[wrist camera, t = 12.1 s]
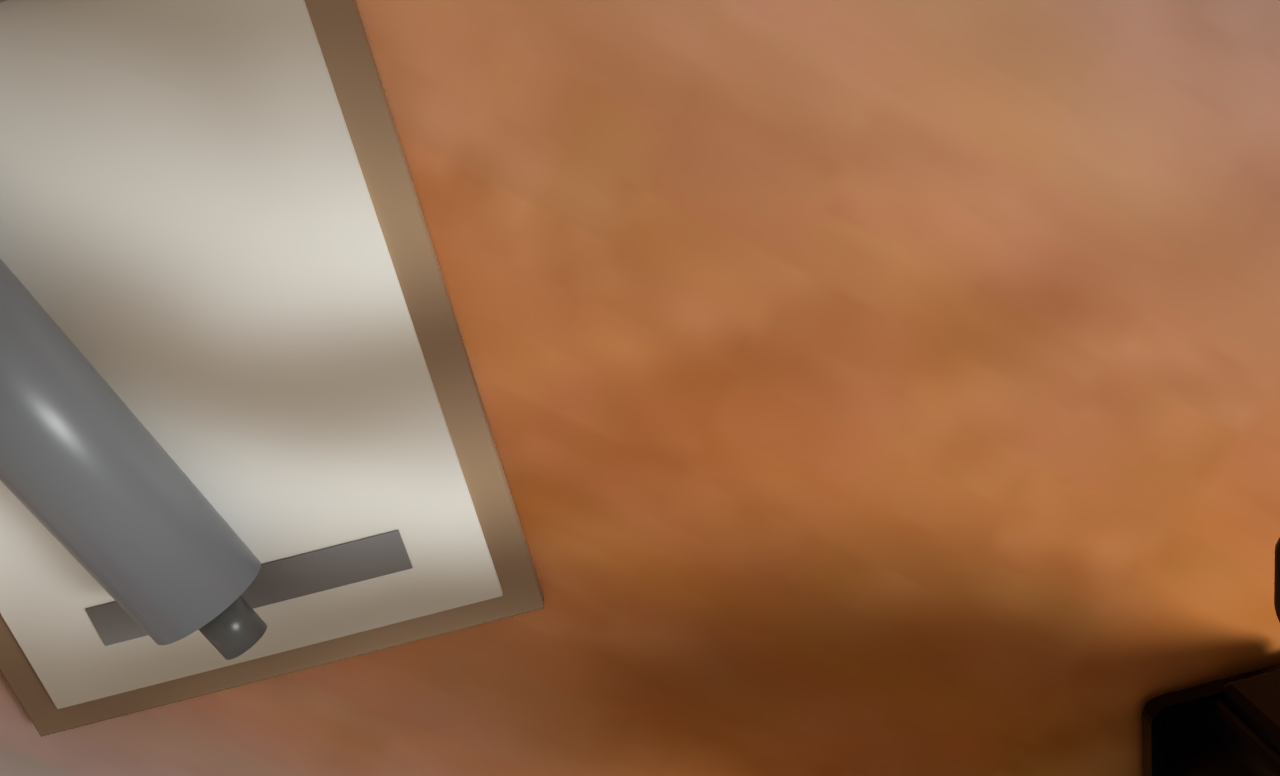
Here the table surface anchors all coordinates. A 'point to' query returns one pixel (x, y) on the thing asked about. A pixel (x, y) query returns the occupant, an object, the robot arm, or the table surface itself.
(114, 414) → the marker
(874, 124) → the table surface
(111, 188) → the clipboard
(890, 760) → the table surface
